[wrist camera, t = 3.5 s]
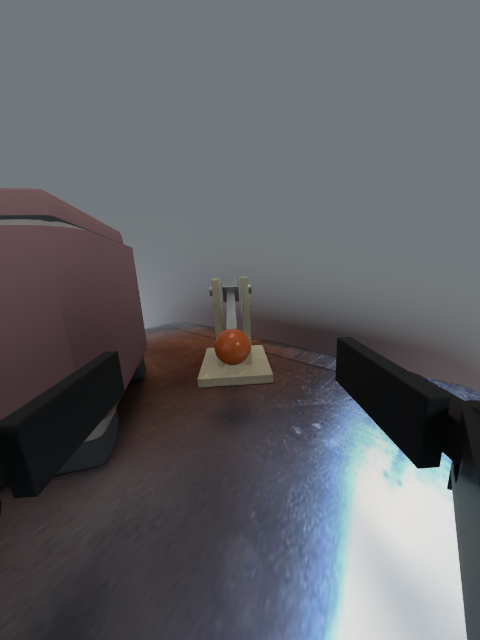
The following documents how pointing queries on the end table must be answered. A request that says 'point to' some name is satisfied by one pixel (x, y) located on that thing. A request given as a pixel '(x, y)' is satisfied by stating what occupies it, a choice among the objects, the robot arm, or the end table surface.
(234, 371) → the bracket
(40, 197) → the toaster
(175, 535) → the end table surface
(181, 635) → the end table surface
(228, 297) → the lever
